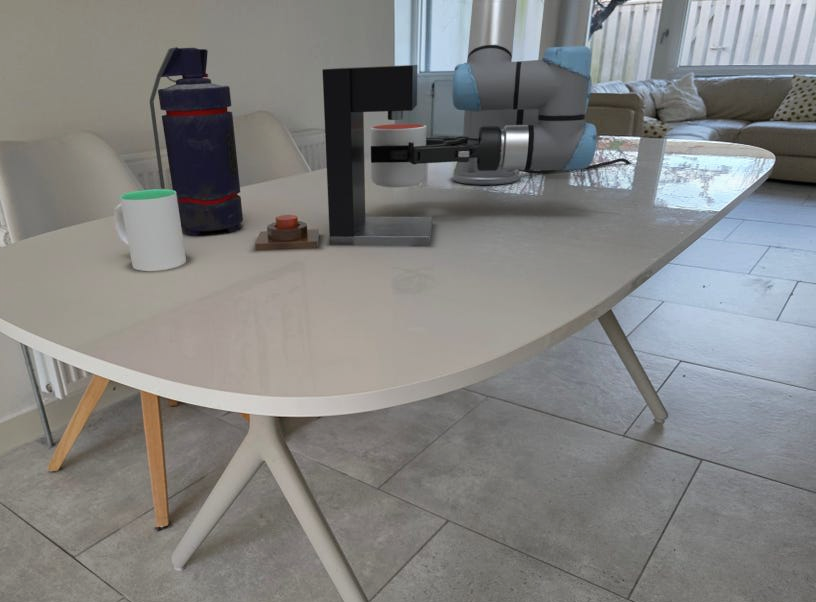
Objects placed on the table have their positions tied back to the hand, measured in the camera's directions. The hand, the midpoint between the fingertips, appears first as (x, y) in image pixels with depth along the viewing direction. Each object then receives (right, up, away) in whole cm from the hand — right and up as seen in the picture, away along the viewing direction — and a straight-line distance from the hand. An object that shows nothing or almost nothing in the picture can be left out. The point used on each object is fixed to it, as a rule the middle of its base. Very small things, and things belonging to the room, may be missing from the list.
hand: (375, 150), depth 113 cm
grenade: (-31, -14, +1) cm, 34 cm away
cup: (+4, -6, +2) cm, 7 cm away
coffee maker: (+1, -17, -7) cm, 18 cm away
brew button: (-15, -17, -11) cm, 25 cm away
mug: (-36, -23, -17) cm, 46 cm away
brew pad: (-15, -19, -10) cm, 26 cm away
